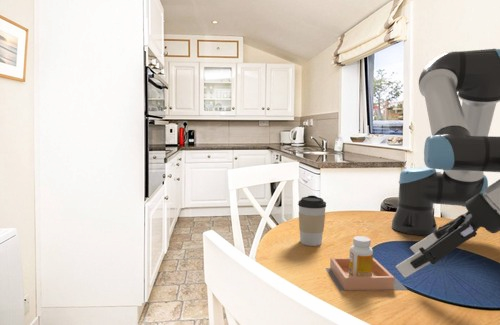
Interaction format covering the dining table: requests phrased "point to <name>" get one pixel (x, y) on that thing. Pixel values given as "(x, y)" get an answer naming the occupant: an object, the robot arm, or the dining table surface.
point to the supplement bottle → (361, 257)
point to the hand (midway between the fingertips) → (407, 261)
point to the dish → (375, 282)
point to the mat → (396, 287)
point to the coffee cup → (311, 220)
